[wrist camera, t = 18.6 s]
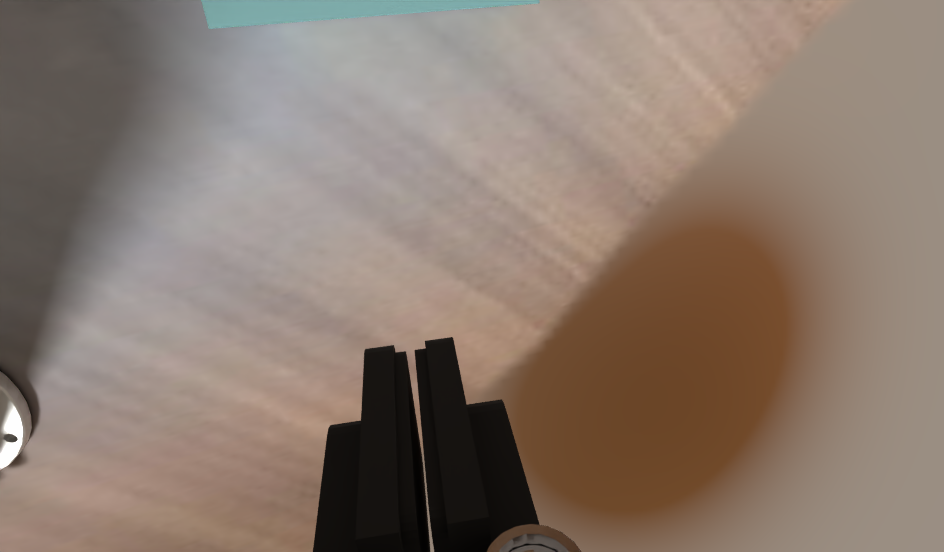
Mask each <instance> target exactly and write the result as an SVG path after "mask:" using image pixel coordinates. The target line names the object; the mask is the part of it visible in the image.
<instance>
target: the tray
mask: <svg viewBox="0 0 944 552" xmlns="http://www.w3.org/2000/svg"><path fill="white" fill-rule="evenodd" d="M201 1H202V5H203V9H204V12H205V16H206V20H207V23H208V27H209V29H214V28H227V27H239V26H252V25H265V24H278V23H291V22H304V21H317V20H330V19H343V18H356V17H369V16H382V15H395V14H408V13H420V12H433V11H446V10H459V9H472V8H485V7H498V6H511V5H524V4H537V3H539V0H201Z"/></svg>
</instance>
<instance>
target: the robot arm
mask: <svg viewBox="0 0 944 552" xmlns="http://www.w3.org/2000/svg"><path fill="white" fill-rule="evenodd" d="M425 346H426V349H419V350H415V359H416V370H417V382H418V393H419V404H420V415H421V426H422V438H423V449H424V460H425V471H426V482H427V492H428V493H427V494H428V505H429V514H430V523H431V531H432V539H433V545H434V552H581V550H580V549H579V548H578V546H577V545H576V544H575V542H574V541H573V540H571V539H570V538H569V537H567V536H566V535H565V534H563V533H562V532H560V531H558V530H556V529H553V528H551V527H548V526H544V525H539V521H538V518H537V514H536V511H535V508H534V504H533V501H532V498H531V494H530V491H529V487H528V484H527V481H526V477H525V474H524V470H523V467H522V463H521V460H520V456H519V453H518V450H517V446H516V443H515V439H514V436H513V432H512V429H511V426H510V422H509V419H508V415H507V412H506V409H505V406H504V403H503V401H502V400H495V401H489V402H482V403H475V404H469V405H466V400H465V395H464V390H463V385H462V380H461V375H460V370H459V365H458V360H457V355H456V350H455V345H454V340H453V337H450V338H443V339H436V340H428V341H425ZM31 429H32V423H31V414H30V411H29V408H28V405H27V402H26V400H25V399H24V397H23V396H22V394H21V392H20V391H19V389H18V388H17V387H16V386H15V385H14V384H13V383H12V381H11V380H10V379H9V378H8V377H7V376H6V375H5V374H3V373H2V372H1V371H0V471H1V470H3V469H4V468H5V467H7V466H8V465H10V464H11V463H12V462H13V461H14V459H15V458H16V457H17V456H18V455H19V453H20V452H21V451H22V450H23V448H24V447H25V445H26V443H27V442H28V440H29V437H30V433H31ZM313 552H430V542H429V530H428V518H427V507H426V495H425V483H424V472H423V462H422V454H421V447H420V440H419V434H418V427H417V420H416V414H415V407H414V401H413V394H412V387H411V381H410V374H409V368H408V361H407V355H406V351H404V352H397V353H395V348H394V345H392V346H385V347H378V348H370V349H365V353H364V372H363V393H362V413H361V421H355V422H349V423H342V424H336V425H330V427H329V429H328V434H327V442H326V450H325V458H324V466H323V474H322V482H321V491H320V499H319V507H318V515H317V523H316V531H315V539H314V548H313Z"/></svg>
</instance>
